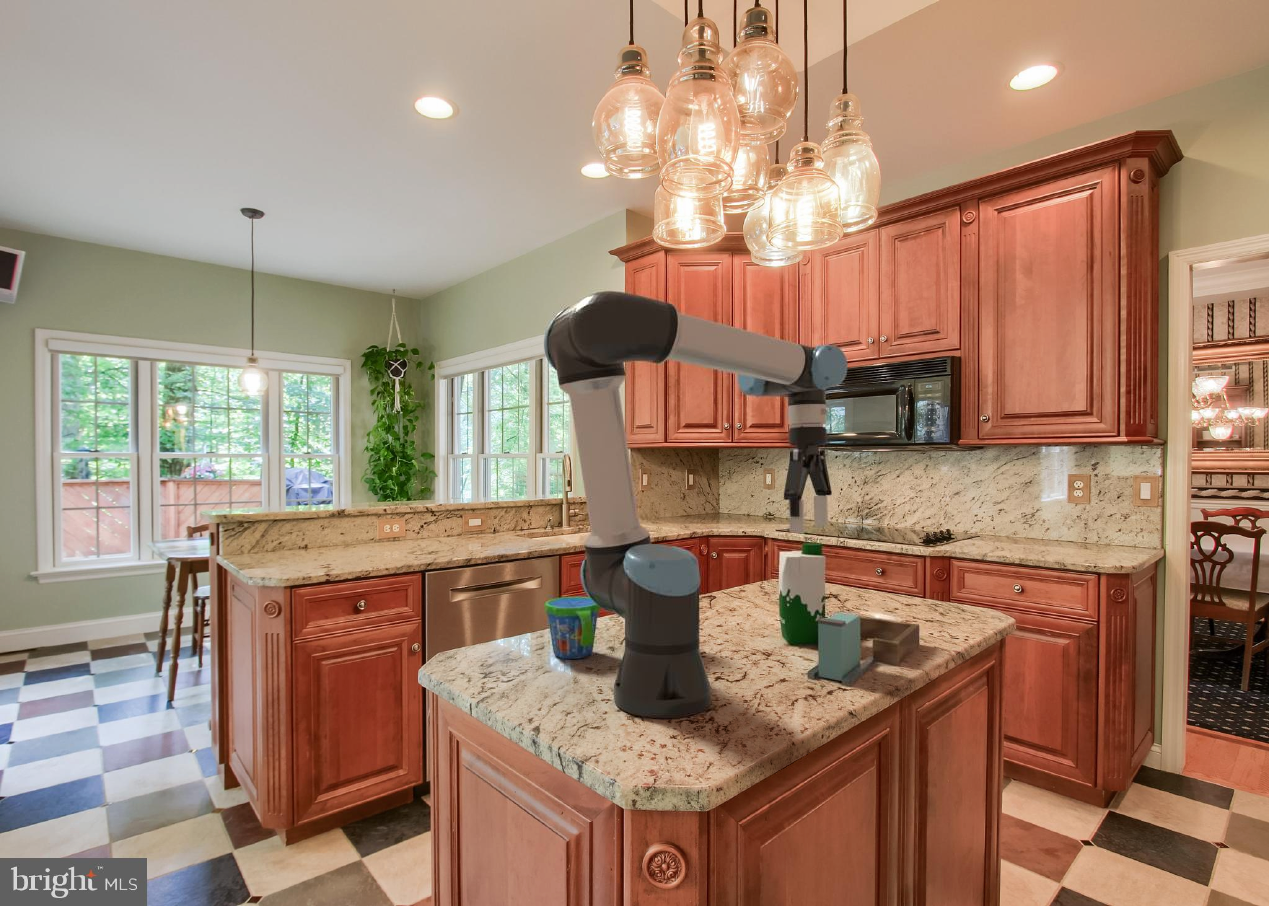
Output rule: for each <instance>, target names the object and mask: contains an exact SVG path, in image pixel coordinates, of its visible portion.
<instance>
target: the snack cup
mask: <svg viewBox="0 0 1269 906" xmlns="http://www.w3.org/2000/svg"><path fill="white" fill-rule="evenodd" d="M544 610H545V612H546V614H547V618H548V620H547V621H548V628H549V633H550V639H551V646H552V650H553V654H554V656H555V657H557V658H560V659H564V660H565V659H566V660H567V659H569V660H571V659H572V660H575V659H583V658H586V657H589V656H590V655H591V654H593V652H594V651H593V650H594V643H595V637H596V629H597V621H598V613H599V611H600V610H601V607H599V606H598V605H597V604H596V603H595V602H594V601H592V600H591V599H590V598H589V596H563V597H557V598H552V599H549V600H547V601H546V602H545V604H544Z"/></svg>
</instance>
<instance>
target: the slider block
mask: <svg viewBox="0 0 1269 906" xmlns="http://www.w3.org/2000/svg"><path fill="white" fill-rule="evenodd" d="M860 616H861V615H860V614H853V613H847V612H840V611H838V612H836V613H834V614H832V615H831V616H829V617H825V618H821V619H819V620H818V645H817V646H818V647H817V648H818V652H817V654H818V658H817V659H818V660H817V661H818V662H817V663H818V664H819V676H818V677H821V678H825V679H830V680H835V681H838V682H840V681H841V682H842V679H843V678H844V677H845V676H846V675H848V674H849V673H850V672H851V671H852V670H854V669H855V668H856V667H857V666H859V665H860V664H861V663H862V661H861V637H860Z"/></svg>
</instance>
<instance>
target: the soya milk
mask: <svg viewBox="0 0 1269 906" xmlns="http://www.w3.org/2000/svg"><path fill="white" fill-rule="evenodd" d="M826 561H827V560H826V556H825V555H824V553H823V544H822V543H820V542H803V543H802V544H801V550H791V551H779V564H778V565H779V566H778V567H779V568H778V569H779V570H778V590H779V591H778V595H779V597H778V605H779V606H778V607H779V608H778V609H779V611H778V613H779V623H780V630H781V636H782V637H783V639H784V641H785V642H786V643H787V645H789V646H818V620H819V619H821V618H826Z"/></svg>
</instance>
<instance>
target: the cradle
mask: <svg viewBox="0 0 1269 906" xmlns="http://www.w3.org/2000/svg"><path fill="white" fill-rule="evenodd" d="M860 638H867V639H871V640H872V657H876V663H880V664H887V665H893V666H897V665H898V666H899V665H901V663H902V662H903V661H905V659H907V658H908V656H910V655H911V653H912V652H914V650H916V649H917V648H918V647H919V645H920V624H917V623H911V622H903V621H898V620H897V621H896V620H888V619H883V618H877V617H876V618H875V617H867V616H862V615H860Z"/></svg>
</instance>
